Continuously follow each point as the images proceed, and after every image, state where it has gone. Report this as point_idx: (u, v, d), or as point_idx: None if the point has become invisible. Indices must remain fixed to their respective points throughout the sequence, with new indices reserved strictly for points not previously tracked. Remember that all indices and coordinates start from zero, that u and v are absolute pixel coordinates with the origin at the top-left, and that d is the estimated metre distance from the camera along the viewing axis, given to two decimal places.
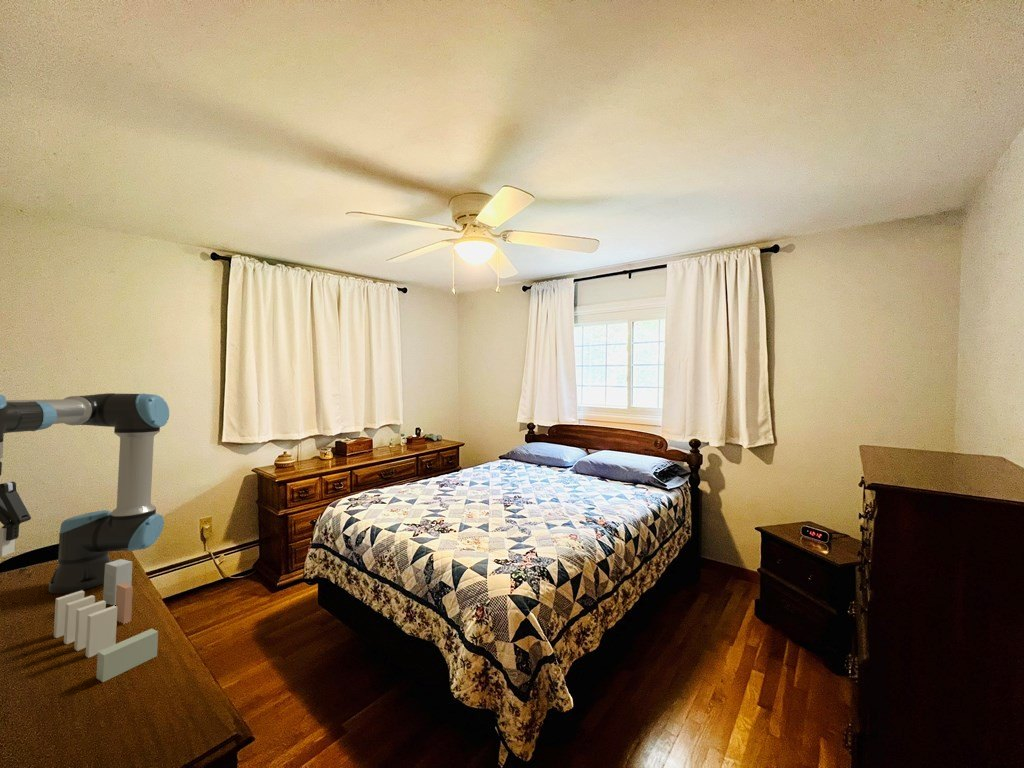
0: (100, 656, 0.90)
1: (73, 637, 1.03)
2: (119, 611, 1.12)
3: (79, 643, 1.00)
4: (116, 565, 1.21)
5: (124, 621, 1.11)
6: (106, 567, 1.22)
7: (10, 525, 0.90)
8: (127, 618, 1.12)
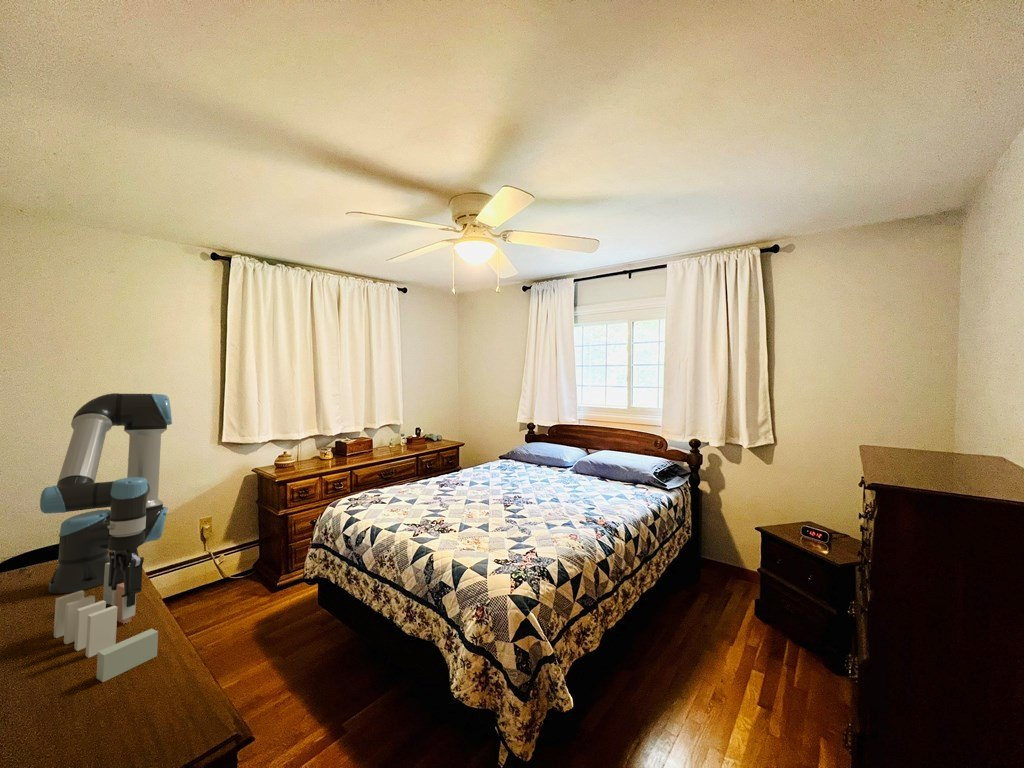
0: (100, 656, 0.90)
1: (73, 637, 1.03)
2: (119, 611, 1.12)
3: (79, 643, 1.00)
4: None
5: (124, 621, 1.11)
6: (106, 567, 1.22)
7: (127, 595, 1.10)
8: (127, 618, 1.12)
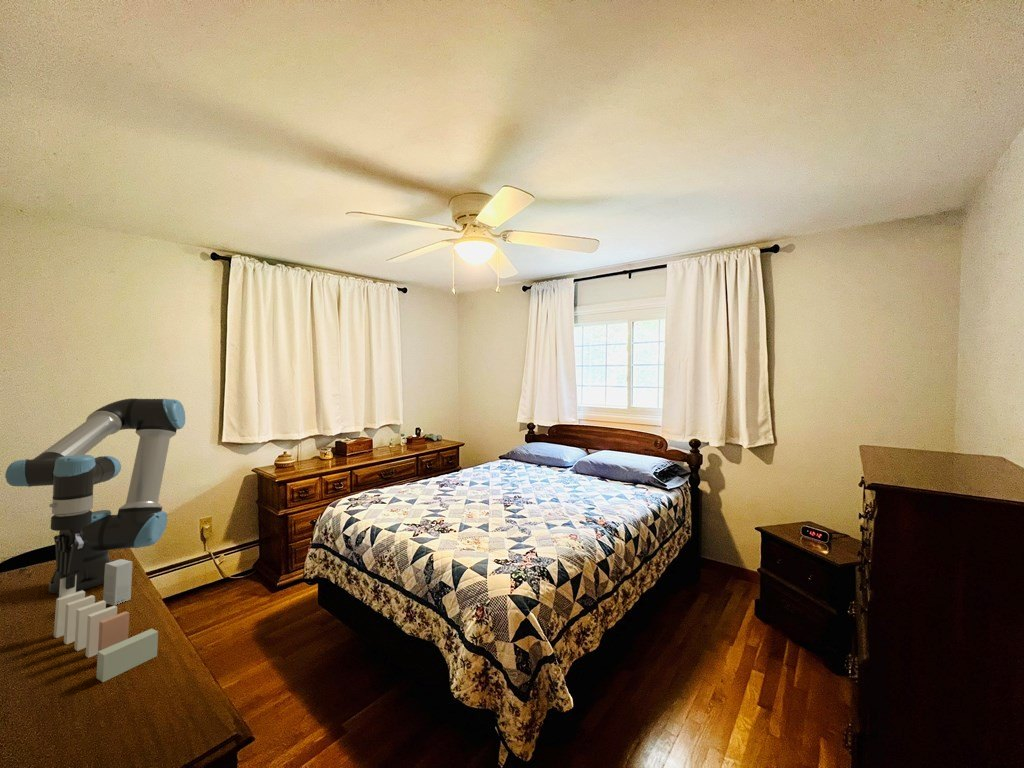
0: (100, 656, 0.90)
1: (73, 637, 1.03)
2: None
3: (79, 643, 1.00)
4: (116, 565, 1.21)
5: None
6: (106, 567, 1.22)
7: (65, 577, 1.06)
8: None
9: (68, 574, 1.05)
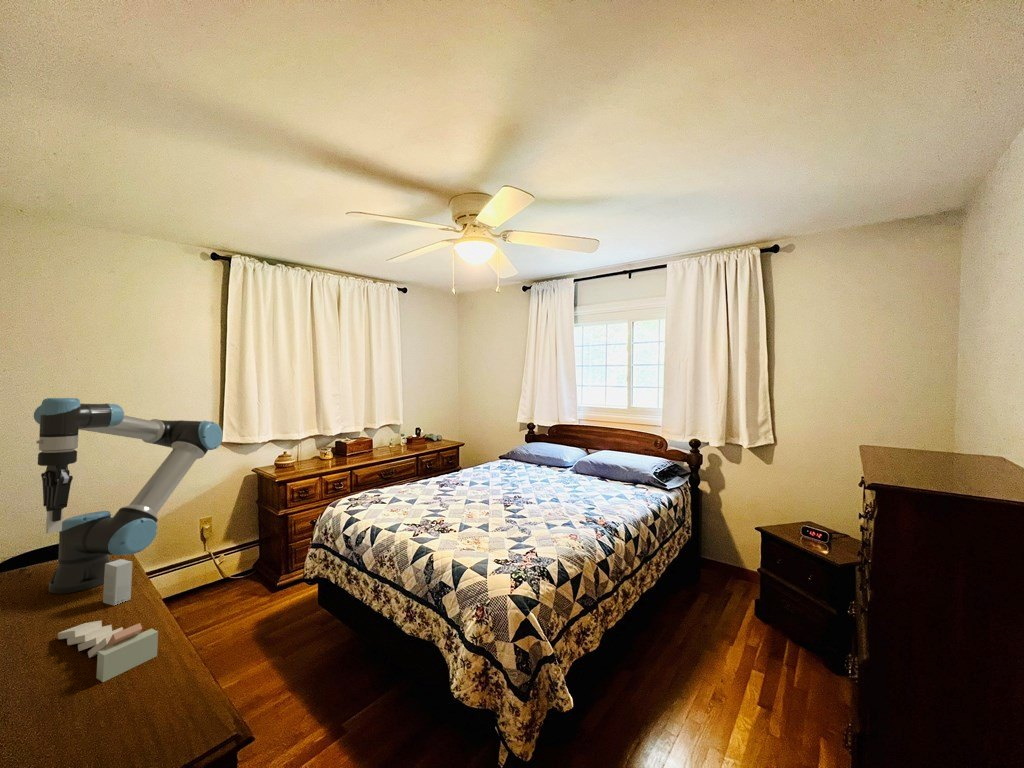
0: (100, 656, 0.90)
1: None
2: None
3: (82, 649, 0.99)
4: (116, 565, 1.21)
5: None
6: (106, 567, 1.22)
7: (51, 510, 1.13)
8: None
9: (54, 507, 1.12)
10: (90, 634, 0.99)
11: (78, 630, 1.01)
